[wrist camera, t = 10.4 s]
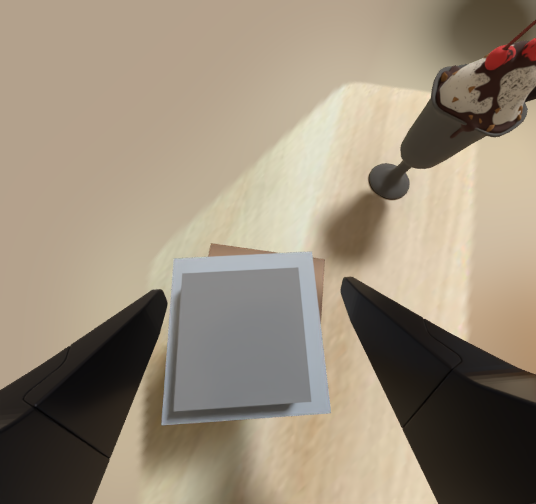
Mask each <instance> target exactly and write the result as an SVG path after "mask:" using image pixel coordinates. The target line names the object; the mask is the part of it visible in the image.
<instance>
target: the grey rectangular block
mask: <svg viewBox="0 0 536 504" xmlns="http://www.w3.org/2000/svg"><path fill="white" fill-rule="evenodd" d="M327 413H331V408H330V400H329V391H328V383H327V374H326V366H325V358H324V349H323V341H322V332H321V324H320V316H319V307H318V299H317V290H316V282H315V274H314V265H313V257H312V252H294V253H274V254H254V255H234V256H214V257H194V258H174V264H173V278H172V291H171V304H170V317H169V330H168V344H167V357H166V370H165V383H164V397H163V410H162V423H161V425H173V424H187V423H201V422H215V421H229V420H243V419H257V418H271V417H285V416H299V415H313V414H327Z"/></svg>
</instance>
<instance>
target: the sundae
mask: <svg viewBox="0 0 536 504" xmlns="http://www.w3.org/2000/svg"><path fill="white" fill-rule="evenodd" d="M535 24H536V20H535V21H534V22H532V23H531V24H530V25H529V26H528V27H527V28H526V29H524V30H523V31H522V32H521V33H520V34H519V35H518V36H517V37H515V38H514V39H513V40H512V41H511V42H510V43H508V44H507V45H504V46H500V47H498V48H496V49H494V50H493V51H492V52H491V53H490V54H488V55H486V56H485V57H484V58H483V59H480V60H478V61H475V62H473V63H470V64H465V65H459V66H452V67H445V68H443V69H441V70H440V71H439V73H438V74H437V76H436V78H435V80H434V83H433V87H432V93H431V99H430V100H429V102H428V103H427V105H426V106H425V108H424V109H423V111H422V112H421V114H420V115H419V117H418V118H417V120H416V121H415V122H414V124H413V125H412V127H411V128H410V130H409V131H408V133H407V135H406V137H405V138H404V140H403V142H402V144H401V157H402V159H403V161H402V162H401V163H400V164H399V165H398V166H395V165H393V164H387V163H385V164H380V165H377V166H376V167H374V168H373V169H372V171H371V172H370V175H369V181H370V184H371V187H372V188H373V190H374V191H375V192H376V193H377V194H379V195H380V196H382V197H384V198H388V199H397V198H401V197H402V196H404V195H405V194H406V193H407V191H408V189H409V178H408V176H407V174H406V172H407V171H408V170H409V169H410V168H411V167H413V168H417V169H426V168H431V167H433V166H435V165H437V164H439V163H441V162H443V161H445V160H447V159H448V158H450V157H452V156H453V155H455V154H456V153H458V152H460V151H461V150H463V149H464V148H466V147H468V146H469V145H471V144H473V143H474V142H476V141H478V140H480V139H482V138H484V137H485V136H490V137H499V136H502V135H504V134H506V133H508V132H510V131H512V130H513V129H515V128H516V127H517V126H519V125H520V124H521V123H522V122H523V121H524V119H525V117H526V115H527V110H528V109H527V106H526V104H525V102H527V101H530V100H534V99H536V38H534V39H533V40H531V41H520V42H517V43H514V42H515V41H516V40H518V39H519V38H520V37H521V36H522V35H523V34H524V33H526V32H527V31H528V30H529V29H530V28H531V27H532V26H533V25H535Z"/></svg>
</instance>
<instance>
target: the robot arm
mask: <svg viewBox="0 0 536 504" xmlns="http://www.w3.org/2000/svg"><path fill="white" fill-rule="evenodd" d="M341 295H342V298H343V301H344V304H345V307H346V310H347V313H348V315H349V318H350V321H351V323H352V325H353V327H354V329H355V331H356V333H357V336H358V338H359V340H360V342H361V344H362V346H363V348H364V350H365V352H366V354H367V356H368V358H369V361H370V363H371V365H372V367H373V369H374V371H375V373H376V375H377V377H378V379H379V381H380V383H381V385H382V388H383V390H384V392H385V394H386V396H387V398H388V400H389V402H390V404H391V406H392V408H393V410H394V412H395V415H396V417H397V419H398V421H399V423H400V425H401V427H402V428H403V432H404V434H405V436H406V438H407V440H408V442H409V444H410V446H411V448H412V450H413V452H414V454H415V456H416V459H417V461H418V463H419V465H420V467H421V469H422V471H423V473H424V475H425V477H426V479H427V481H428V483H429V486H430V488H431V490H432V492H433V494H434V496H435V498H436V500H437V502H438V504H536V374H533V373H530V372H527V371H525V370H522V369H520V368H517V367H515V366H513V365H511V364H509V363H507V362H505V361H503V360H501V359H499V358H497V357H495V356H493V355H491V354H489V353H488V352H486V351H484V350H482V349H480V348H478V347H476V346H474V345H472V344H470V343H468V342H466V341H464V340H462V339H460V338H459V337H457V336H455V335H453V334H451V333H449V332H447V331H445V330H444V329H442V328H440V327H438V326H437V325H435V324H433V323H431V322H430V321H428V320H426V319H423V317H421V316H419V315H417V314H416V313H414V312H412V311H410V310H409V309H407V308H405V307H404V306H402V305H400V304H398V303H397V302H395V301H393V300H391V299H390V298H388V297H386V296H385V295H383V294H381V293H379V292H378V291H376V290H374V289H373V288H371V287H369V286H367V285H366V284H364V283H362V282H360V281H359V280H357V279H355V278H353V277H344V278H343V281H342V285H341ZM166 309H167V300H166V297H165V295H164V292H163V290H161V289H156V290H151V291H150V292H148V293H147V294H145V295H144V296H142V297H141V298H140V299H138V300H137V301H135V302H134V303H132V304H131V305H129V306H128V307H126V308H125V309H123V310H122V311H120V312H119V313H117V314H116V315H114V316H113V317H111V318H110V319H108V320H107V321H106V322H104V323H103V324H101V325H100V326H98V327H97V328H95V329H94V330H92V331H91V332H89V333H88V334H86V335H85V336H83V337H82V338H80V339H79V340H77V341H76V342H74V343H73V344H71V346H68V347H67V348H65V349H64V350H62V351H61V352H60V353H58V354H57V355H55V356H53V357H52V358H51V359H49V360H47V361H46V362H45V363H43V364H41V365H40V366H38V367H37V368H35V369H33V370H32V371H30V372H29V373H27V374H25V375H24V376H22V377H21V378H19V379H17V380H16V381H14V382H13V383H11V384H9V385H8V386H6V387H5V388H3V389H1V390H0V504H92V503H93V500H94V498H95V495H96V493H97V490H98V488H99V485H100V483H101V480H102V478H103V475H104V473H105V470H106V468H107V465H108V463H109V458H110V457H111V455H112V452H113V450H114V447H115V445H116V442H117V440H118V437H119V435H120V432H121V430H122V427H123V425H124V422H125V420H126V417H127V415H128V412H129V410H130V407H131V405H132V402H133V400H134V397H135V395H136V392H137V390H138V387H139V385H140V382H141V380H142V377H143V375H144V372H145V370H146V367H147V365H148V362H149V360H150V357H151V355H152V352H153V350H154V347H155V345H156V342H157V340H158V337H159V334H160V331H161V327H162V324H163V320H164V316H165V313H166Z"/></svg>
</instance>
